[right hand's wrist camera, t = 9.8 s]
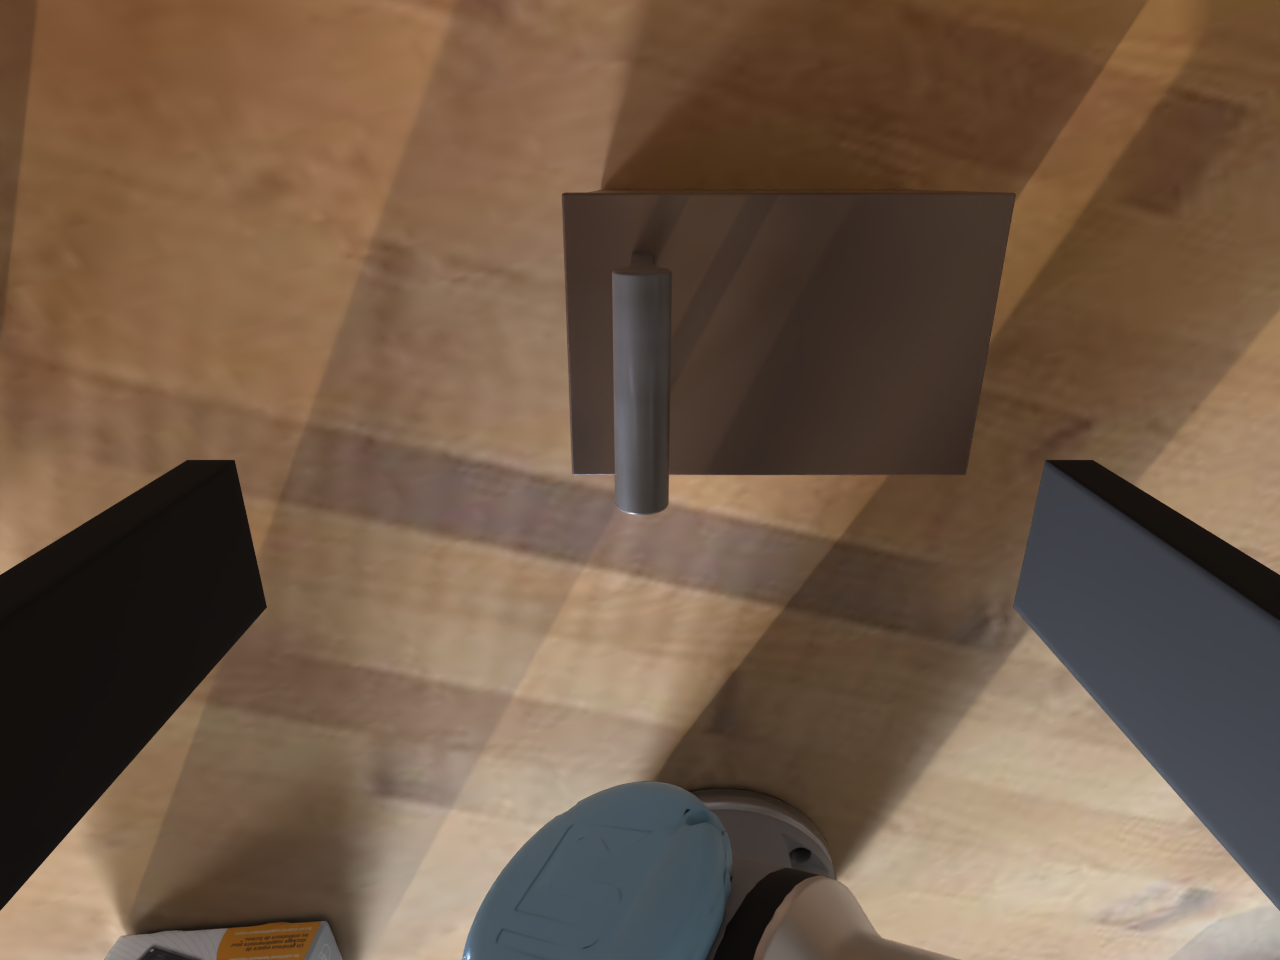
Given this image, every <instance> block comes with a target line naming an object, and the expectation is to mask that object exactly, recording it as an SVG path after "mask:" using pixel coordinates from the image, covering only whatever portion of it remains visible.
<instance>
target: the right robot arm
mask: <svg viewBox="0 0 1280 960" xmlns="http://www.w3.org/2000/svg"><path fill="white" fill-rule="evenodd" d="M266 607H267V606H266V601H265V597H264V592H263V588H262V583H261V579H260V574H259V569H258V565H257V560H256V556H255V551H254V547H253V542H252V537H251V533H250V528H249V524H248V519H247V515H246V510H245V506H244V501H243V496H242V492H241V487H240V483H239V478H238V474H237V469H236V464H235V460H187V461H185V462H183V463H182V464H180V465H179V466H177V467H175V468H174V469H172V470H170V471H169V472H167V473H165V474H164V475H162V476H161V477H159V478H157V479H156V480H154V481H152V482H151V483H149V484H148V485H146V486H144V487H143V488H141V489H139V490H138V491H136V492H135V493H133V494H131V495H130V496H128V497H126V498H125V499H123V500H122V501H120V502H118V503H117V504H115V505H113V506H112V507H110V508H109V509H107V510H105V511H104V512H102V513H100V514H99V515H97V516H96V517H94V518H92V519H91V520H89V521H87V522H86V523H84V524H83V525H81V526H79V527H78V528H76V529H74V530H73V531H71V532H69V533H68V534H66V535H65V536H63V537H61V538H60V539H58V540H56V541H55V542H53V543H52V544H50V545H48V546H47V547H45V548H43V549H42V550H40V551H39V552H37V553H35V554H34V555H32V556H30V557H29V558H27V559H26V560H24V561H22V562H21V563H19V564H17V565H16V566H14V567H13V568H11V569H9V570H8V571H6V572H4V573H3V574H1V575H0V910H1V909H2V908H3V907H4V906H5V905H6V904H7V903H8V901H9V900H10V899H11V898H12V897H13V896H14V895H15V893H16V892H17V891H18V890H19V889H20V888H21V887H22V885H23V884H24V883H25V882H26V881H27V880H28V879H29V877H30V876H31V875H32V874H33V873H34V872H35V871H36V869H37V868H38V867H39V866H40V865H41V864H42V863H43V861H44V860H45V859H46V858H47V857H48V856H49V855H50V854H51V852H52V851H53V850H54V849H55V848H56V847H57V846H58V844H59V843H60V842H61V841H62V840H63V839H64V838H65V836H66V835H67V834H68V833H69V832H70V831H71V830H72V828H73V827H74V826H75V825H76V824H77V823H78V822H79V820H80V819H81V818H82V817H83V816H84V815H85V814H86V812H87V811H88V810H89V809H90V808H91V807H92V806H93V805H94V803H95V802H96V801H97V800H98V799H99V798H100V797H101V795H102V794H103V793H104V792H105V791H106V790H107V789H108V787H109V786H110V785H111V784H112V783H113V782H114V781H115V779H116V778H117V777H118V776H119V775H120V774H121V773H122V771H123V770H124V769H125V768H126V767H127V766H128V765H129V764H130V762H131V761H132V760H133V759H134V758H135V757H136V756H137V754H138V753H139V752H140V751H141V750H142V749H143V748H144V746H145V745H146V744H147V743H148V742H149V741H150V740H151V738H152V737H153V736H154V735H155V734H156V733H157V732H158V730H159V729H160V728H161V727H162V726H163V725H164V724H165V722H166V721H167V720H168V719H169V718H170V717H171V716H172V715H173V713H174V712H175V711H176V710H177V709H178V708H179V707H180V705H181V704H182V703H183V702H184V701H185V700H186V699H187V697H188V696H189V695H190V694H191V693H192V692H193V691H194V689H195V688H196V687H197V686H198V685H199V684H200V683H201V681H202V680H203V679H204V678H205V677H206V676H207V675H208V674H209V672H210V671H211V670H212V669H213V668H214V667H215V666H216V664H217V663H218V662H219V661H220V660H221V659H222V658H223V656H224V655H225V654H226V653H227V652H228V651H229V650H230V648H231V647H232V646H233V645H234V644H235V643H236V642H237V640H238V639H239V638H240V637H241V636H242V635H243V634H244V632H245V631H246V630H247V629H248V628H249V627H250V626H251V625H252V623H253V622H254V621H255V620H256V619H257V618H258V617H259V615H260V614H261V613H262V612H263V611H264V610H265V609H266ZM1013 607H1014V609H1015V610H1016V611H1017V612H1018V613H1019V614H1020V615H1021V617H1022V618H1023V619H1024V620H1025V621H1026V622H1027V623H1028V625H1029V626H1030V627H1031V628H1032V629H1033V630H1034V631H1035V632H1036V634H1037V635H1038V636H1039V637H1040V638H1041V639H1042V640H1043V642H1044V643H1045V644H1046V645H1047V646H1048V647H1049V648H1050V650H1051V651H1052V652H1053V653H1054V654H1055V655H1056V656H1057V658H1058V659H1059V660H1060V661H1061V662H1062V663H1063V664H1064V666H1065V667H1066V668H1067V669H1068V670H1069V671H1070V672H1071V674H1072V675H1073V676H1074V677H1075V678H1076V679H1077V680H1078V681H1079V683H1080V684H1081V685H1082V686H1083V687H1084V688H1085V689H1086V691H1087V692H1088V693H1089V694H1090V695H1091V696H1092V697H1093V699H1094V700H1095V701H1096V702H1097V703H1098V704H1099V705H1100V707H1101V708H1102V709H1103V710H1104V711H1105V712H1106V713H1107V715H1108V716H1109V717H1110V718H1111V719H1112V720H1113V721H1114V722H1115V724H1116V725H1117V726H1118V727H1119V728H1120V729H1121V730H1122V732H1123V733H1124V734H1125V735H1126V736H1127V737H1128V738H1129V740H1130V741H1131V742H1132V743H1133V744H1134V745H1135V746H1136V748H1137V749H1138V750H1139V751H1140V752H1141V753H1142V754H1143V756H1144V757H1145V758H1146V759H1147V760H1148V761H1149V762H1150V764H1151V765H1152V766H1153V767H1154V768H1155V769H1156V770H1157V771H1158V773H1159V774H1160V775H1161V776H1162V777H1163V778H1164V779H1165V781H1166V782H1167V783H1168V784H1169V785H1170V786H1171V787H1172V789H1173V790H1174V791H1175V792H1176V793H1177V794H1178V795H1179V797H1180V798H1181V799H1182V800H1183V801H1184V802H1185V803H1186V805H1187V806H1188V807H1189V808H1190V809H1191V810H1192V811H1193V812H1194V814H1195V815H1196V816H1197V817H1198V818H1199V819H1200V820H1201V822H1202V823H1203V824H1204V825H1205V826H1206V827H1207V828H1208V830H1209V831H1210V832H1211V833H1212V834H1213V835H1214V836H1215V838H1216V839H1217V840H1218V841H1219V842H1220V843H1221V844H1222V846H1223V847H1224V848H1225V849H1226V850H1227V851H1228V852H1229V854H1230V855H1231V856H1232V857H1233V858H1234V859H1235V860H1236V861H1237V863H1238V864H1239V865H1240V866H1241V867H1242V868H1243V869H1244V871H1245V872H1246V873H1247V874H1248V875H1249V876H1250V877H1251V879H1252V880H1253V881H1254V882H1255V883H1256V884H1257V885H1258V887H1259V888H1260V889H1261V890H1262V891H1263V892H1264V893H1265V895H1266V896H1267V897H1268V898H1269V899H1270V900H1271V901H1272V903H1273V904H1274V905H1275V906H1276V907H1277V908H1278V909H1279V910H1280V575H1279V574H1277V573H1276V572H1274V571H1272V570H1271V569H1269V568H1267V567H1266V566H1264V565H1263V564H1261V563H1259V562H1258V561H1256V560H1254V559H1253V558H1251V557H1250V556H1248V555H1246V554H1245V553H1243V552H1241V551H1240V550H1238V549H1237V548H1235V547H1233V546H1232V545H1230V544H1228V543H1227V542H1225V541H1224V540H1222V539H1220V538H1219V537H1217V536H1215V535H1214V534H1212V533H1211V532H1209V531H1207V530H1206V529H1204V528H1202V527H1201V526H1199V525H1197V524H1196V523H1194V522H1193V521H1191V520H1189V519H1188V518H1186V517H1184V516H1183V515H1181V514H1180V513H1178V512H1176V511H1175V510H1173V509H1171V508H1170V507H1168V506H1167V505H1165V504H1163V503H1162V502H1160V501H1158V500H1157V499H1155V498H1154V497H1152V496H1150V495H1149V494H1147V493H1145V492H1144V491H1142V490H1141V489H1139V488H1137V487H1136V486H1134V485H1132V484H1131V483H1129V482H1128V481H1126V480H1124V479H1123V478H1121V477H1119V476H1118V475H1116V474H1115V473H1113V472H1111V471H1110V470H1108V469H1106V468H1105V467H1103V466H1101V465H1100V464H1098V463H1097V462H1095V461H1093V460H1045V464H1044V469H1043V474H1042V478H1041V483H1040V487H1039V492H1038V496H1037V501H1036V506H1035V510H1034V515H1033V519H1032V524H1031V528H1030V533H1029V537H1028V542H1027V547H1026V551H1025V556H1024V560H1023V565H1022V569H1021V574H1020V579H1019V583H1018V588H1017V592H1016V597H1015V601H1014V606H1013Z"/></svg>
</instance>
